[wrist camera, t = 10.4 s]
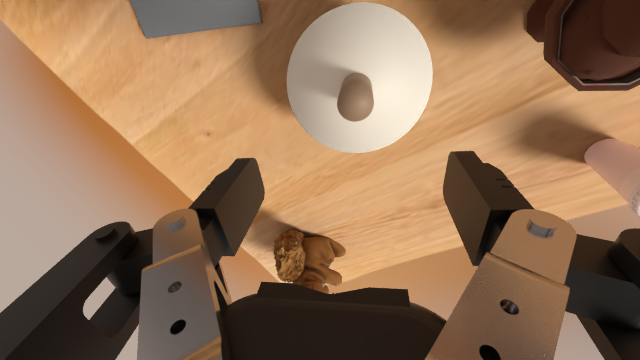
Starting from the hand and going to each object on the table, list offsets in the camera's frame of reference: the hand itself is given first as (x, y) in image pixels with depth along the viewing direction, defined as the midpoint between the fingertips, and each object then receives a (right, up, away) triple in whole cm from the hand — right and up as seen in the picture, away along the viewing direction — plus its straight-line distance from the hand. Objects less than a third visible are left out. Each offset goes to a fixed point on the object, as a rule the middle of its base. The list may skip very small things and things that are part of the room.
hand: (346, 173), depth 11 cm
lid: (+3, +9, +15) cm, 18 cm away
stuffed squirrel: (-3, -12, +38) cm, 40 cm away
